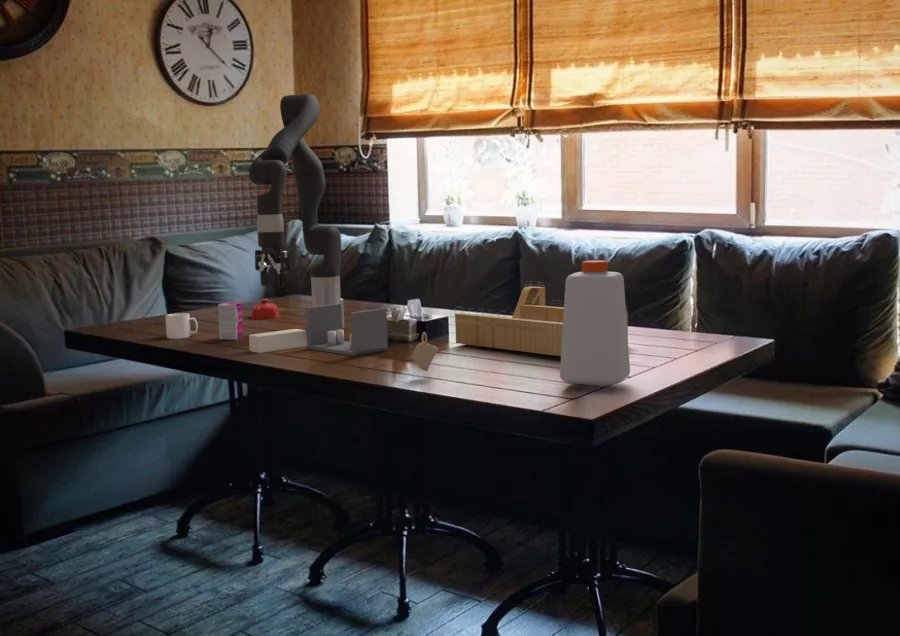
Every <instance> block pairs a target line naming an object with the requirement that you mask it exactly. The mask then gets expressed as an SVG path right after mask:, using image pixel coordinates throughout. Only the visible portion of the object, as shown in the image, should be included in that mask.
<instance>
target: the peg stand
mask: <svg viewBox="0 0 900 636" xmlns="http://www.w3.org/2000/svg"><path fill="white" fill-rule="evenodd" d="M349 313H350V332H351V333H350V334H349V340H348V341H347V340H345V332H344V331H345V330H344V329H343V328H342V308H341V304H331V305H323V306H315V307H312V306H309V307H305V317H306V318H305V320H306V334H307V346H306V347H307V349H308V350H314V351H320V352H326V353H332V354H339V355H345V356H350V357H351V356H352V357H359V356H365V355H370V354H375V353H382V352H387V351H388V349H389V348H388V347H389V346H388V345H389V344H388V317H387V315H388V314H387V308H385V307H384V308H383V307H381V308H377V309H376V308H374V309H368V310H359V311H354V312H353V311H352V312H349Z"/></svg>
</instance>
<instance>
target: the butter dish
mask: <svg viewBox="0 0 900 636" xmlns="http://www.w3.org/2000/svg"><path fill="white" fill-rule="evenodd" d="M260 302H261V303H258V304H255V305H254V306H253V308H252V310H251V311H252V313H251V316H250V317H251V320H275V319H278V318H279V317H280V311H279V308H278V306H277V304H275V303H270V302H269V299H268V298H262V299H260Z"/></svg>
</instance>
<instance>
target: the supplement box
mask: <svg viewBox="0 0 900 636" xmlns="http://www.w3.org/2000/svg"><path fill="white" fill-rule="evenodd" d="M217 306H218V308H217V310H218V338H219V339H218V340H219V341H227V340H229V341H231V342H233V341H235V342H236V341H238V340H240V339H242V338H244V325H243V324H244V323H243V321H244V320H243V302H223V303H219V304H218V305H217Z"/></svg>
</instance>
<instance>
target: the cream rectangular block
mask: <svg viewBox="0 0 900 636" xmlns="http://www.w3.org/2000/svg"><path fill="white" fill-rule="evenodd" d="M248 342H249V351H250V352H252V353H257V354H263V353H271V352H277V351H286V350H292V349H298V348H299V349H300V348H304V347H307V329H301V328H299V329H298V328H293V329H292V328H291V329H285V330H284V329H283V330H278V331H276V330H275V331H269V332H268V331H267V332H261V333H255V334H254V333H252V334H249V335H248Z"/></svg>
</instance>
